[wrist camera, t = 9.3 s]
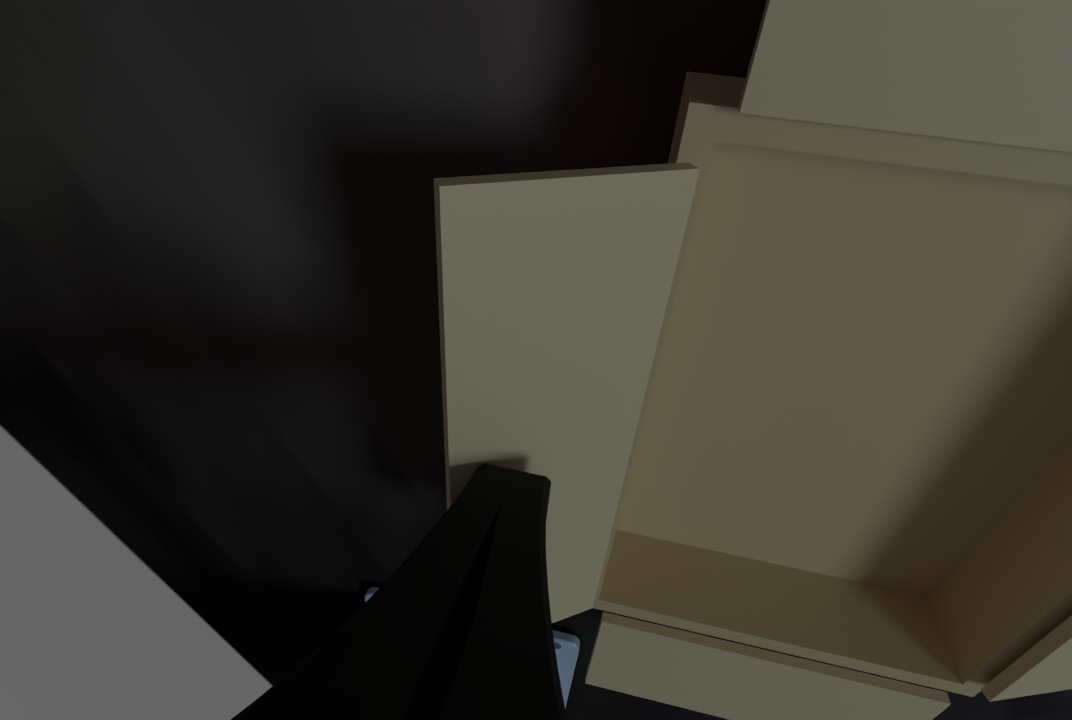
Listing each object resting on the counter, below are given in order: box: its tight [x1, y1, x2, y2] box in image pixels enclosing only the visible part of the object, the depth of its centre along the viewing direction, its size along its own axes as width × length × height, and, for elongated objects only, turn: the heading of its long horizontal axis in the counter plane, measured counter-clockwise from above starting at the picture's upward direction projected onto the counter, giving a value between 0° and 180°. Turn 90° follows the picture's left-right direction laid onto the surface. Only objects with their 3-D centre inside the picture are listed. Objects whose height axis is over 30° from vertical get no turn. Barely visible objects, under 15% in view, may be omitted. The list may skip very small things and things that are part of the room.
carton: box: [585, 0, 1072, 720], centre depth 13 cm, size 11×22×3 cm, turn 176°
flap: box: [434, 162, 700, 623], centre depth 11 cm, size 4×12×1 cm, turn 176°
